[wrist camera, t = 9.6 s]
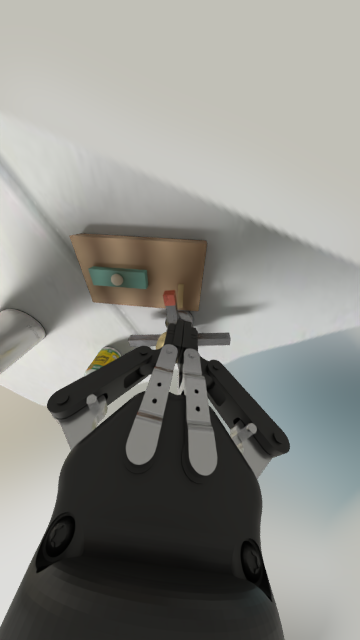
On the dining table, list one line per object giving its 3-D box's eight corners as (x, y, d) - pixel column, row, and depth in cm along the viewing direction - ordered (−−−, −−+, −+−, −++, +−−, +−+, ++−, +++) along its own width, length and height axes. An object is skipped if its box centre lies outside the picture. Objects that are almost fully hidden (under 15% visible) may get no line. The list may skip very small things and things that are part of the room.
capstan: (223, 352, 33) (228, 381, 27) (149, 352, 35) (140, 379, 30) (228, 275, 23) (238, 296, 17) (124, 283, 25) (103, 304, 20)
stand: (100, 295, 28) (85, 309, 24) (81, 233, 22) (56, 238, 18) (198, 303, 26) (198, 319, 23) (206, 240, 20) (207, 247, 17)
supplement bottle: (107, 361, 40) (85, 397, 32) (96, 347, 37) (69, 383, 29) (125, 360, 38) (107, 397, 31) (116, 345, 35) (93, 382, 28)
